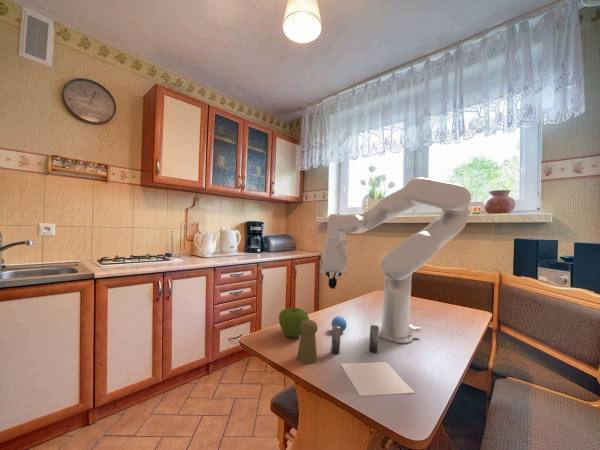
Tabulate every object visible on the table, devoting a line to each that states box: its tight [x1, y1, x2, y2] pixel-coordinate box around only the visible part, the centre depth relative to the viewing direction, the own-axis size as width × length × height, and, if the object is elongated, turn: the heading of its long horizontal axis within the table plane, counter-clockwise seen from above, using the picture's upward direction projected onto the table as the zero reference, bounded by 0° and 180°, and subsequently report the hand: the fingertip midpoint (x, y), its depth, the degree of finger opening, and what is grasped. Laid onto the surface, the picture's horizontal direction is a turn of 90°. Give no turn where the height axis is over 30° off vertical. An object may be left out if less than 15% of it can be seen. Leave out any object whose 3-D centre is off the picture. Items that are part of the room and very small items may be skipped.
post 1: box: [330, 325, 342, 355], centre depth 81 cm, size 3×3×8 cm
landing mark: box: [340, 361, 415, 397], centre depth 69 cm, size 14×14×1 cm
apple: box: [278, 307, 310, 339], centre depth 92 cm, size 11×10×10 cm
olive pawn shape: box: [296, 319, 318, 365], centre depth 77 cm, size 6×6×11 cm
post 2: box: [368, 324, 380, 354], centre depth 83 cm, size 3×3×8 cm
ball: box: [331, 316, 348, 333], centre depth 98 cm, size 6×6×6 cm
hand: (332, 287), depth 108 cm, fingers closed
